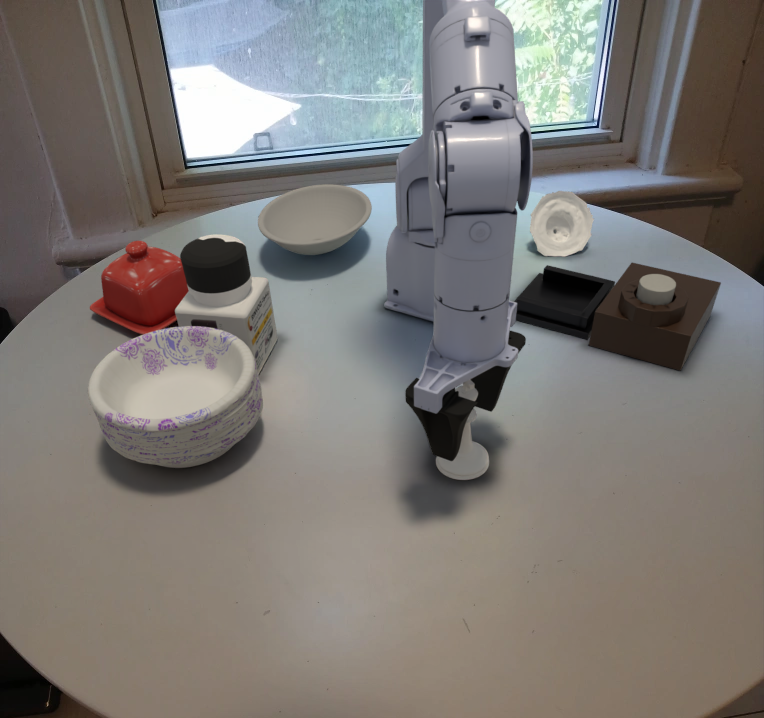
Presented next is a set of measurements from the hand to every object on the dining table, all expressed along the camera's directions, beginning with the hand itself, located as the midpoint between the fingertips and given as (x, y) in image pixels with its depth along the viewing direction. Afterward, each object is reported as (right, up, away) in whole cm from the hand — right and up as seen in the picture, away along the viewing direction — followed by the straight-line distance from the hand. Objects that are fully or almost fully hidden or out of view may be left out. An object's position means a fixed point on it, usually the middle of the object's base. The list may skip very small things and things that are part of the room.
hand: (464, 430), depth 65 cm
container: (-24, +10, +16) cm, 30 cm away
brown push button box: (+23, +13, +17) cm, 31 cm away
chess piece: (0, -3, +3) cm, 4 cm away
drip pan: (+14, +17, +21) cm, 30 cm away
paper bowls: (-26, 0, +7) cm, 27 cm away
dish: (-16, +28, +33) cm, 46 cm away
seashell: (+16, +28, +31) cm, 44 cm away
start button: (+21, +15, +11) cm, 28 cm away
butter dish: (-35, +17, +24) cm, 46 cm away
